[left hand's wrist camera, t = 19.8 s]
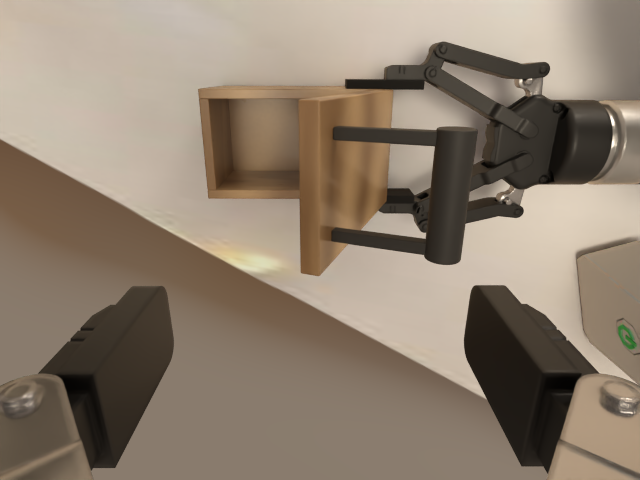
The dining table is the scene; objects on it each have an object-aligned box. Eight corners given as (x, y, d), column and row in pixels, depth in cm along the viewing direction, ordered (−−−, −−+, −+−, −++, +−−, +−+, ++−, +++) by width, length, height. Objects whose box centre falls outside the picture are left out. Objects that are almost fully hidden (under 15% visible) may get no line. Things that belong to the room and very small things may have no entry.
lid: (300, 273, 24) (453, 300, 21) (297, 99, 21) (479, 104, 18) (373, 200, 38) (472, 210, 35) (379, 89, 35) (488, 91, 32)
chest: (228, 176, 47) (208, 198, 39) (221, 85, 44) (197, 88, 35) (368, 176, 47) (379, 199, 39) (372, 86, 44) (385, 89, 35)
